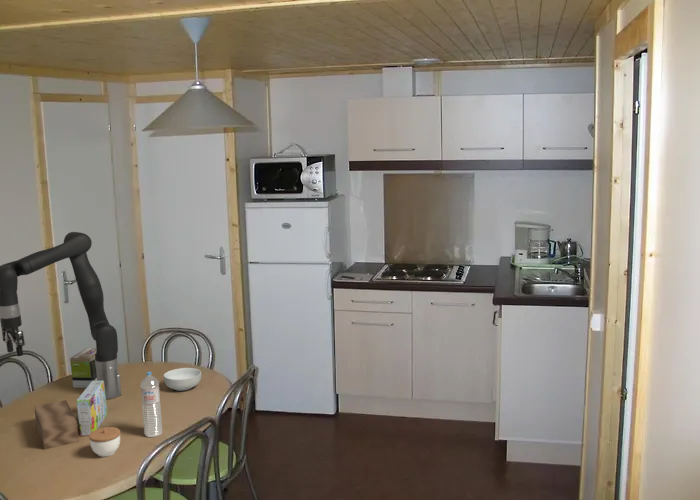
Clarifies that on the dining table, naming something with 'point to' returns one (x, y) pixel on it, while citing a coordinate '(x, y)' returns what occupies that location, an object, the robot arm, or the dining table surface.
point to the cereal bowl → (182, 378)
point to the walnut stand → (56, 424)
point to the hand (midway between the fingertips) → (15, 353)
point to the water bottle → (151, 406)
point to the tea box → (83, 368)
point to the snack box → (91, 407)
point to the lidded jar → (105, 441)
